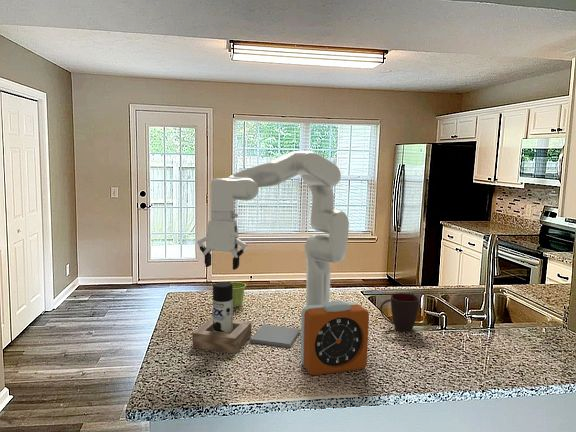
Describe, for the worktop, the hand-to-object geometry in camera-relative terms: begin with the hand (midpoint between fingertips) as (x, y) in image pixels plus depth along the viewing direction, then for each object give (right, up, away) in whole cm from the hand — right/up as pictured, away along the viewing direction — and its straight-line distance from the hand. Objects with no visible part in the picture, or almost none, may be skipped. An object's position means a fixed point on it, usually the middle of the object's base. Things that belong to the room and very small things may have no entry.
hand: (221, 267), depth 149 cm
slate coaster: (+18, -25, +8) cm, 32 cm away
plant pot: (0, -21, +41) cm, 46 cm away
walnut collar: (0, -26, +4) cm, 26 cm away
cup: (+63, -25, +18) cm, 70 cm away
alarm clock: (+36, -29, -13) cm, 48 cm away
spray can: (0, -26, +4) cm, 26 cm away
